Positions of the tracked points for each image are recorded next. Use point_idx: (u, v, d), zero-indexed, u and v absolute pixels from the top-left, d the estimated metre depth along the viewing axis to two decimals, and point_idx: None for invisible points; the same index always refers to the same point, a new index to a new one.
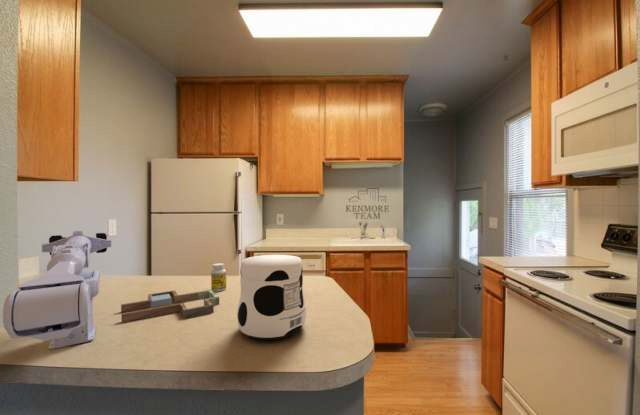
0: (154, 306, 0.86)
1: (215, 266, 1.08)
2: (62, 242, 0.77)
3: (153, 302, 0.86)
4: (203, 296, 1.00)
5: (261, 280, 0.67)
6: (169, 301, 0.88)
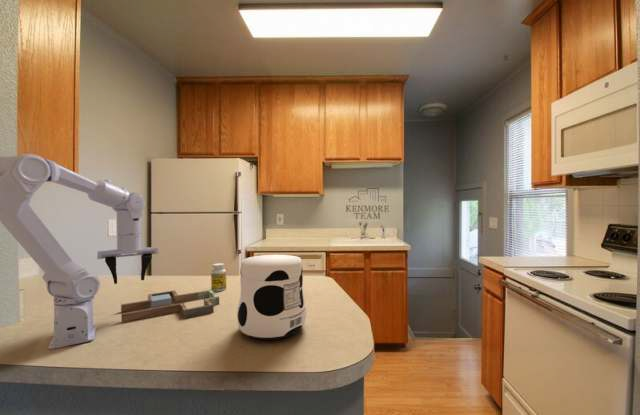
0: (154, 306, 0.86)
1: (215, 266, 1.08)
2: None
3: (153, 302, 0.86)
4: (203, 296, 1.00)
5: (261, 280, 0.67)
6: (169, 301, 0.88)
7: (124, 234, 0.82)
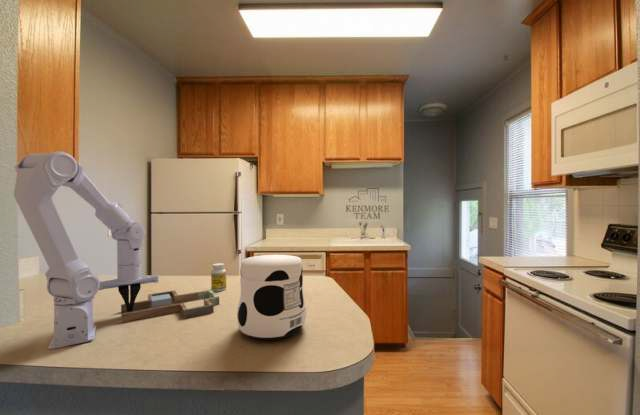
0: (154, 306, 0.86)
1: (215, 266, 1.08)
2: (115, 281, 0.84)
3: (153, 302, 0.86)
4: (203, 296, 1.00)
5: (261, 280, 0.67)
6: (169, 301, 0.88)
7: (124, 264, 0.82)
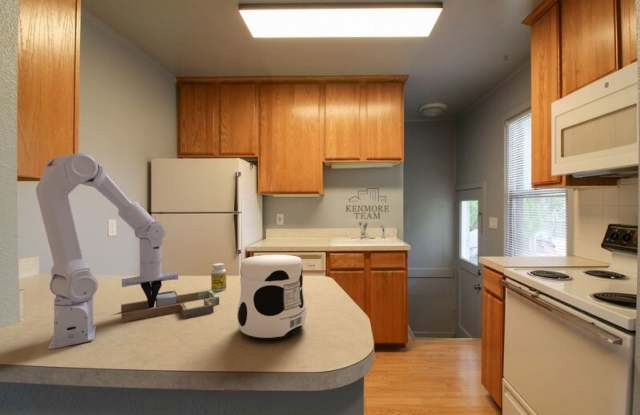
0: (159, 304, 0.87)
1: (215, 266, 1.08)
2: (137, 278, 0.87)
3: (158, 301, 0.87)
4: (203, 296, 1.00)
5: (261, 280, 0.67)
6: (174, 300, 0.89)
7: (145, 262, 0.85)
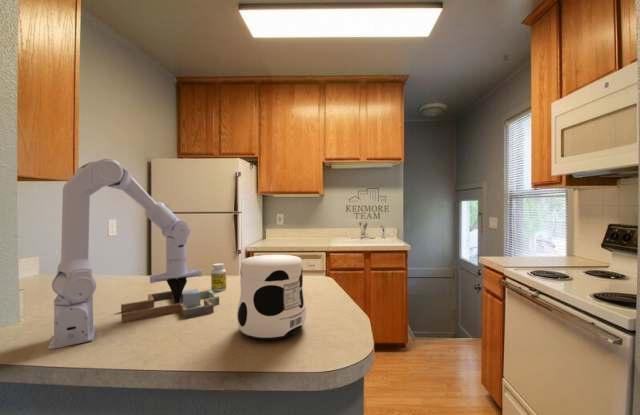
0: (184, 300, 0.91)
1: (215, 266, 1.08)
2: None
3: (184, 296, 0.90)
4: (203, 296, 1.00)
5: (261, 280, 0.67)
6: (198, 296, 0.93)
7: (171, 260, 0.89)
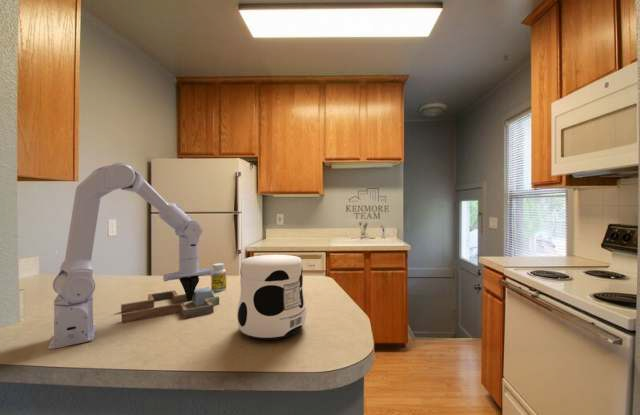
0: (197, 298, 0.93)
1: (215, 266, 1.08)
2: (177, 273, 0.93)
3: (196, 294, 0.93)
4: None
5: (261, 280, 0.67)
6: (210, 294, 0.95)
7: (183, 258, 0.91)
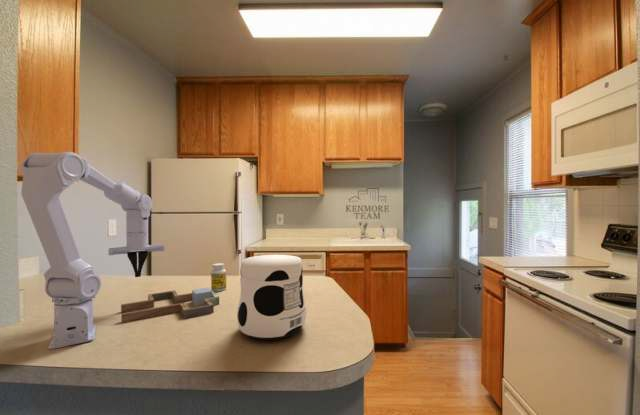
0: (197, 298, 0.93)
1: (215, 266, 1.08)
2: None
3: (196, 295, 0.93)
4: None
5: (261, 280, 0.67)
6: (210, 294, 0.95)
7: (135, 232, 0.88)
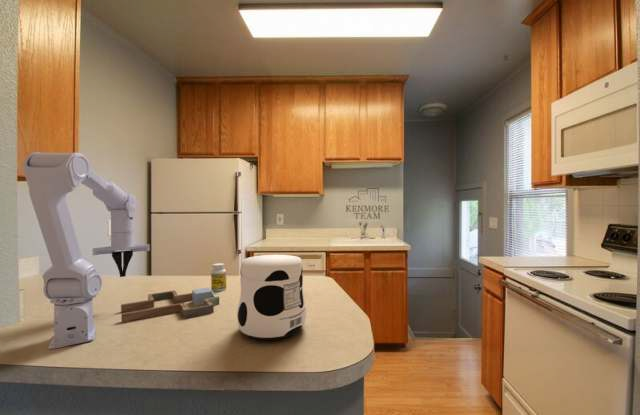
0: (197, 298, 0.93)
1: (215, 266, 1.08)
2: None
3: (196, 295, 0.93)
4: None
5: (261, 280, 0.67)
6: (210, 294, 0.95)
7: (122, 232, 0.88)
